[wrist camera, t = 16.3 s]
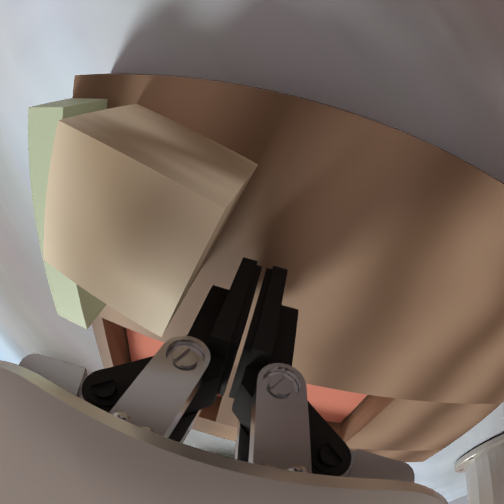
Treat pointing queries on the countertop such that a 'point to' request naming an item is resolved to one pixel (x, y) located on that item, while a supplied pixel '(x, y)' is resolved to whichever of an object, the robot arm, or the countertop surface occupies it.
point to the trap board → (328, 259)
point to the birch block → (137, 208)
